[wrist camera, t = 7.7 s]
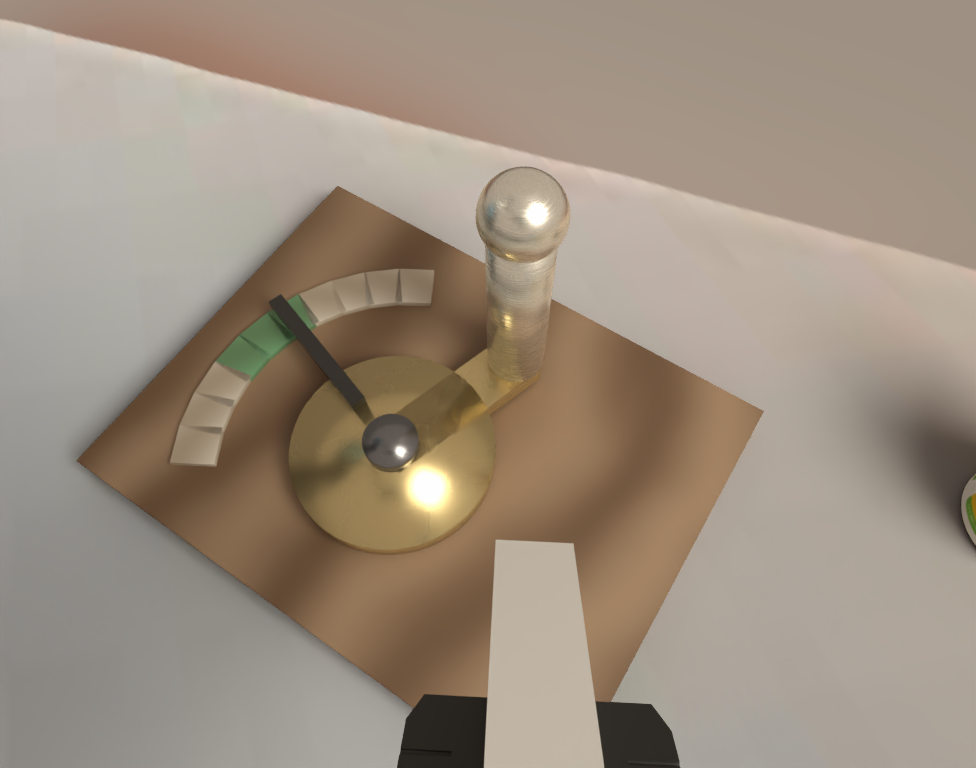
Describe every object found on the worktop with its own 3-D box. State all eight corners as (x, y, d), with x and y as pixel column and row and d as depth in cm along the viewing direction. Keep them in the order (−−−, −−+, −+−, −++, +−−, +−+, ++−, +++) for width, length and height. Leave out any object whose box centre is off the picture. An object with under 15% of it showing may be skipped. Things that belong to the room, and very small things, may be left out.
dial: (285, 572, 30) (159, 471, 19) (276, 312, 36) (176, 114, 25) (584, 525, 31) (634, 400, 20) (529, 277, 37) (544, 70, 25)
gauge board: (92, 471, 34) (72, 458, 32) (342, 204, 41) (336, 182, 39) (550, 807, 28) (554, 811, 26) (753, 424, 35) (766, 408, 33)
